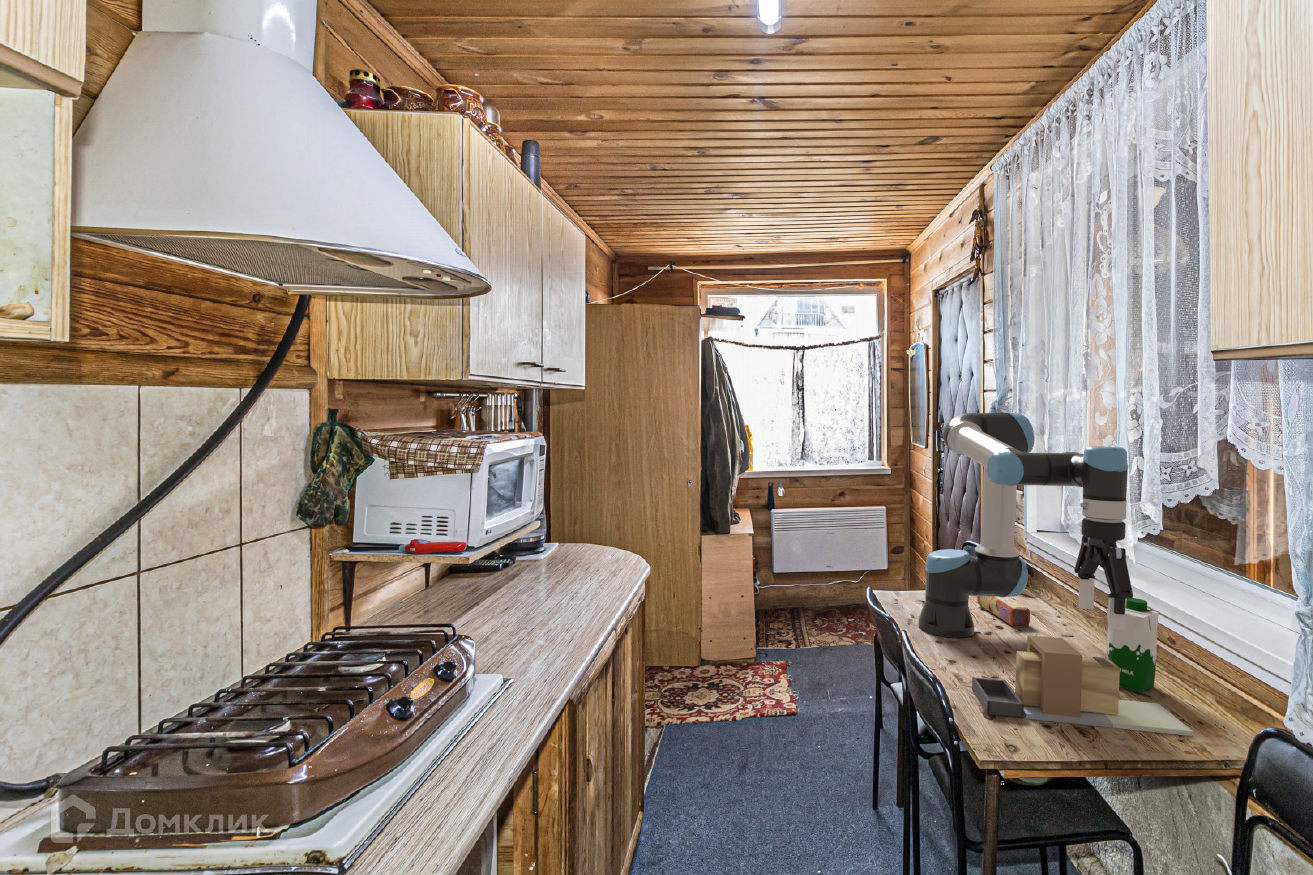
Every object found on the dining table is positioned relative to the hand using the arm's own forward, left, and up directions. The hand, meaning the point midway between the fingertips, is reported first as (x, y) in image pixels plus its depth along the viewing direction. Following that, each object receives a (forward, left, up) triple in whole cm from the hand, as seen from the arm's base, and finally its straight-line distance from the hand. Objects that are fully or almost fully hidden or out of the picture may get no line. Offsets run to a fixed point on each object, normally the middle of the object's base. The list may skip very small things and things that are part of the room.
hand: (1100, 618), depth 130 cm
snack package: (-66, +1, -21) cm, 69 cm away
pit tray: (0, -20, -21) cm, 29 cm away
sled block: (0, -6, -19) cm, 20 cm away
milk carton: (-18, +14, -21) cm, 31 cm away
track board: (0, -1, -21) cm, 21 cm away
